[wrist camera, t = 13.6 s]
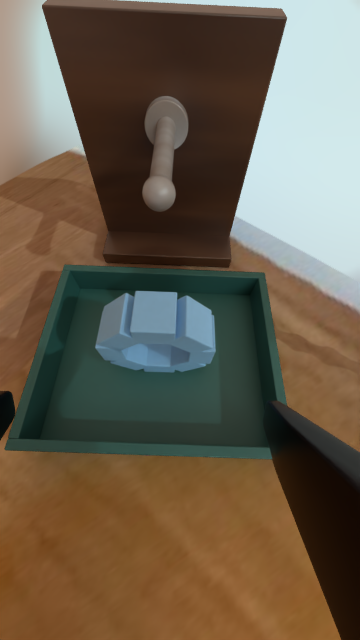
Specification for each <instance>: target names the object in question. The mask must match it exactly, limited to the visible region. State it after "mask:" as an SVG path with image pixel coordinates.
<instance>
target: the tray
mask: <svg viewBox="0 0 360 640" xmlns="http://www.w3.org/2000/svg"><path fill="white" fill-rule="evenodd" d="M135 291H155V292H176V293H177V300H178V299H180V298H182V297H184V296H186V295H187V296H189V297H191V298H192V299H194V300H195V301H197V302H199V303H200V304H202V305H203V306H205V307H206V308H208V309H210V310H211V315H214V327H215V350H216V352H215V354H214V356H213V358H212V361H211V363H210V364H206V366H205V367H200V368H196V369H192V370H188V371H184V372H181V371H178V370H175V372H145V371H144V369H140V370H133V369H129V368H126V367H122V366H119V365H115V364H112V363H110V361H109V360H104V359H103V357H102V356H101V355H100V353H99V352H98V351H97V349H96V348H95V346H96V341H97V336H98V331H99V326H100V322H101V317H102V312H103V310H104V306H106V305H107V304H109V303H111V302H112V301H114V300H115V299H117V298H118V297H120V296H122V295H123V294H125V293H128V294H130V295H131V296H133V297H135ZM268 400H274V401H280V402H282V403H283V404H285V405H286V406H287V403H286V397H285V391H284V385H283V379H282V373H281V367H280V361H279V355H278V349H277V343H276V337H275V331H274V325H273V319H272V313H271V307H270V301H269V296H268V290H267V284H266V279H265V273H260V272H235V271H210V270H186V269H161V268H136V267H112V266H87V265H64V268H63V271H62V273H61V277H60V280H59V283H58V286H57V289H56V292H55V295H54V298H53V301H52V304H51V307H50V310H49V313H48V316H47V319H46V323H45V326H44V329H43V332H42V335H41V338H40V341H39V344H38V347H37V350H36V353H35V356H34V359H33V362H32V366H31V369H30V372H29V375H28V378H27V381H26V384H25V387H24V390H23V393H22V396H21V399H20V402H19V405H18V409H17V412H16V415H15V418H14V421H13V424H12V427H11V430H10V433H9V436H8V438H9V439H8V440H7V443H6V446H5V450H11V451H40V452H70V453H99V454H129V455H159V456H188V457H218V458H247V459H272V456H271V453H270V449H269V445H268V442H267V438H266V434H265V431H264V427H263V417H264V411H265V405H266V402H267V401H268Z"/></svg>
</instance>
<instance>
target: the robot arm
mask: <svg viewBox="0 0 360 640" xmlns="http://www.w3.org/2000/svg"><path fill="white" fill-rule="evenodd" d="M14 416H15V406H14V401H13V395H12V393H11V392H9V391H0V440H1V438H2V437H3V435H4V433H5V432H6V430H7V429H8V427H9V425H10V424H11V422H12V420H13V419H14ZM263 427H264V431H265V434H266V438H267V442H268V445H269V449H270V453H271V456H272V460H273V463H274V467H275V470H276V473H277V475H278V478H279V481H280V483H281V486H282V488H283V491H284V494H285V496H286V499H287V501H288V504H289V506H290V509H291V511H292V514H293V517H294V519H295V522H296V524H297V527H298V529H299V532H300V535H301V537H302V540H303V542H304V545H305V547H306V550H307V553H308V555H309V558H310V560H311V563H312V565H313V568H314V570H315V573H316V576H317V578H318V581H319V583H320V586H321V588H322V591H323V594H324V596H325V599H326V601H327V604H328V606H329V609H330V611H331V614H332V617H333V619H334V622H335V624H336V627H337V629H338V632H339V635H340V637H341V640H360V452H358V451H357V450H355V449H353V448H352V447H350V446H349V445H347V444H346V443H344V442H343V441H341V440H339V439H338V438H336V437H335V436H333V435H332V434H330V433H328V432H327V431H325V430H324V429H322V428H321V427H319V426H318V425H316V424H314V423H313V422H311V421H310V420H308V419H307V418H305V417H303V416H302V415H300V414H299V413H297V412H296V411H294V410H293V409H291V408H289V407H288V406H286V405H285V404H283V403H282V402H280V401H274V400H268V401H267V402H266V405H265V411H264V417H263Z"/></svg>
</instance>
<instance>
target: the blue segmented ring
mask: <svg viewBox="0 0 360 640" xmlns="http://www.w3.org/2000/svg"><path fill="white" fill-rule="evenodd" d="M95 348H96V349H97V351H98V352H99V353H100V355H101V356H102V357H103V359H104V360H109V361H110V363H112V364H115V365H119V366H122V367H126V368H129V369H133V370H140V369H144V371H145V372H175V370H178V371H181V372H184V371H188V370H192V369H196V368H200V367H205V366H206V364H210V363H211V361H212V358H213V356H214V354H215V352H216V350H215V327H214V315H211V310H210V309H208V308H206V307H205V306H203V305H202V304H200V303H199V302H197V301H195V300H194V299H192V298H191V297H189V296H187V295H186V296H184V297H182V298H180V299H178V300H177V293H176V292H155V291H135V297H133V296H131V295H130V294H128V293H125V294H123V295H122V296H120V297H118V298H117V299H115V300H114V301H112V302H111V303H109V304H107V305H106V306H104V310H103V312H102V317H101V322H100V326H99V331H98V336H97V341H96V346H95Z"/></svg>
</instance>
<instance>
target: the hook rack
mask: <svg viewBox="0 0 360 640" xmlns="http://www.w3.org/2000/svg"><path fill="white" fill-rule="evenodd" d="M42 9H43V12H44V15H45V19H46V22H47V25H48V29H49V32H50V36H51V39H52V42H53V45H54V49H55V53H56V56H57V59H58V63H59V66H60V69H61V72H62V76H63V79H64V83H65V86H66V90H67V93H68V96H69V100H70V103H71V107H72V110H73V113H74V117H75V120H76V123H77V127H78V130H79V133H80V137H81V140H82V144H83V147H84V151H85V154H86V157H87V161H88V164H89V167H90V171H91V174H92V178H93V181H94V184H95V188H96V191H97V194H98V198H99V201H100V205H101V208H102V211H103V215H104V218H105V221H106V225H107V228H108V234H107V239H106V243H105V247H104V251H103V256H104V258H105V261H106V262H112V263H136V264H161V265H186V266H210V267H229V265H230V262H231V248H230V237H229V236H230V232H231V228H232V224H233V220H234V217H235V213H236V209H237V205H238V202H239V198H240V194H241V190H242V187H243V183H244V179H245V175H246V171H247V168H248V164H249V160H250V156H251V153H252V149H253V145H254V141H255V137H256V133H257V130H258V126H259V122H260V118H261V115H262V111H263V107H264V103H265V100H266V96H267V92H268V88H269V85H270V81H271V77H272V73H273V70H274V66H275V62H276V58H277V54H278V50H279V46H280V43H281V39H282V35H283V32H284V28H285V24H286V20H287V17H286V15H285V13H284V12H283V10H282V9H277V8H257V7H236V6H217V5H196V4H177V3H176V4H175V3H157V2H137V1H117V0H47V1H46V2H45V3H44V4H43V5H42Z"/></svg>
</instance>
